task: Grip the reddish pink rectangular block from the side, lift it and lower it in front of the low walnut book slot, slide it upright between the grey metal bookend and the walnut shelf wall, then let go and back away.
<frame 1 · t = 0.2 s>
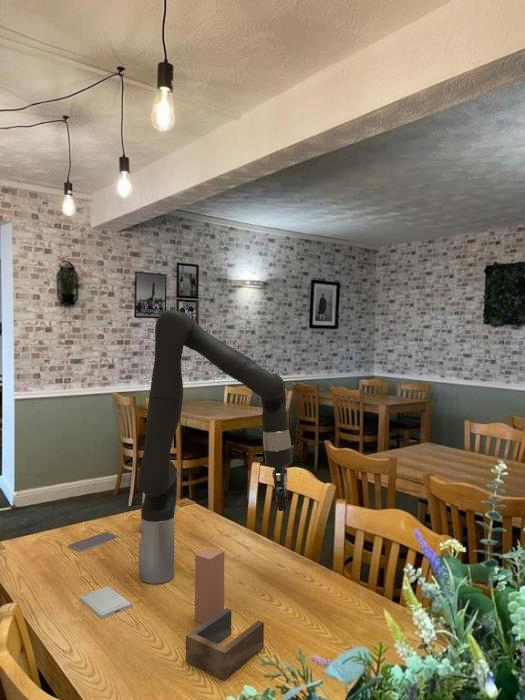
hand: (283, 505, 142), 22 cm above the table, tool pointing down, fingers open, 8 cm apart
hard drive: (105, 606, 132), on the table
smartphone: (93, 544, 171), on the table
skincare box: (160, 524, 188), on the table
book slot: (227, 652, 112), on the table
reddish pink rectangular block: (209, 618, 125), on the table
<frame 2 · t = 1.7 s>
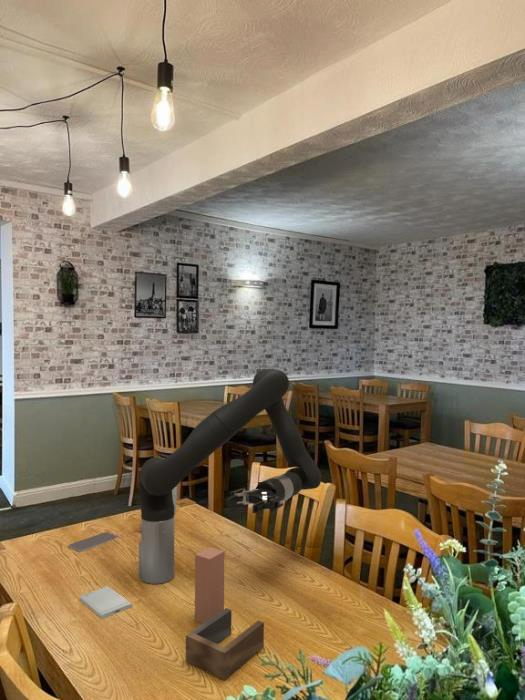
hand: (240, 506, 134), 24 cm above the table, tool horizontal, fingers open, 8 cm apart
nothing on the table moved.
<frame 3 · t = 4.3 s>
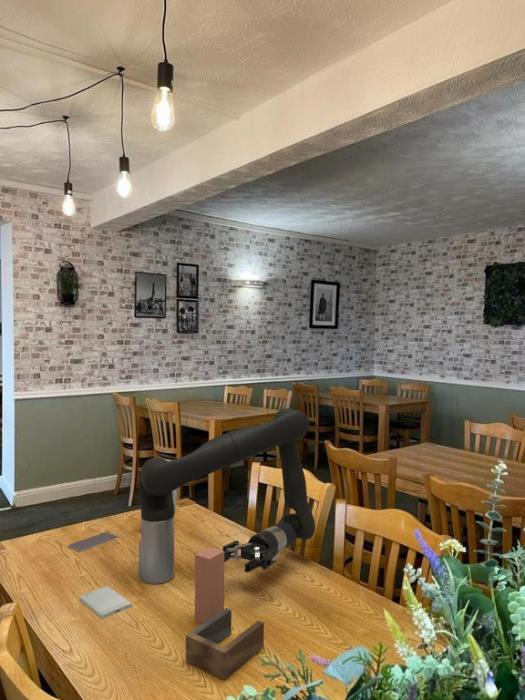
hand: (232, 564, 132), 10 cm above the table, tool horizontal, fingers open, 8 cm apart
nothing on the table moved.
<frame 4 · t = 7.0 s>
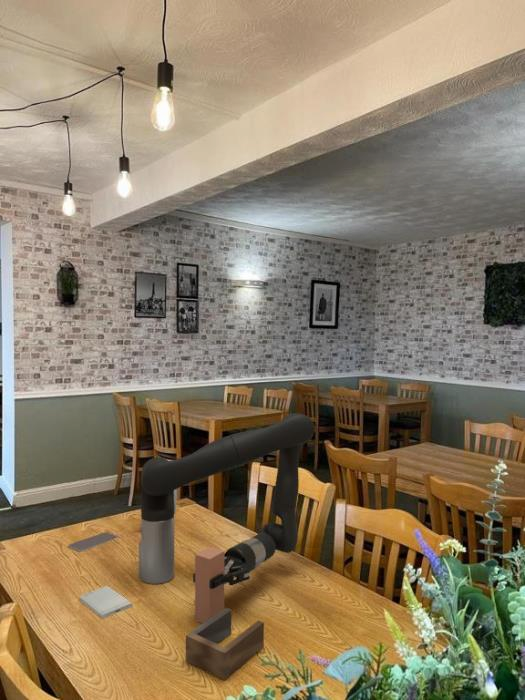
hand: (202, 581, 123), 10 cm above the table, tool horizontal, fingers closed on reddish pink rectangular block, 4 cm apart
reddish pink rectangular block: (209, 618, 125), on the table, touching gripper
everything else where it was.
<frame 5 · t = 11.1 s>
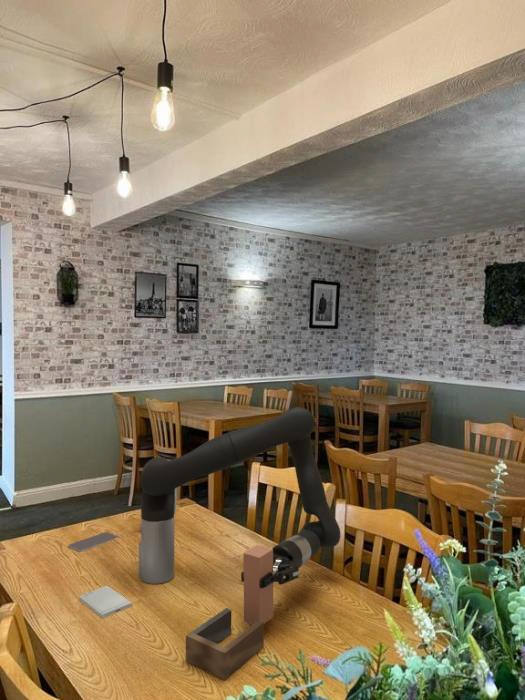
hand: (251, 581, 118), 12 cm above the table, tool horizontal, fingers closed on reddish pink rectangular block, 4 cm apart
reddish pink rectangular block: (258, 618, 121), point 2 cm above the table, touching gripper
everything else where it was.
when the fingers open (11 cm above the table, at t = 15.4 s): reddish pink rectangular block stays where it is, resting in book slot.
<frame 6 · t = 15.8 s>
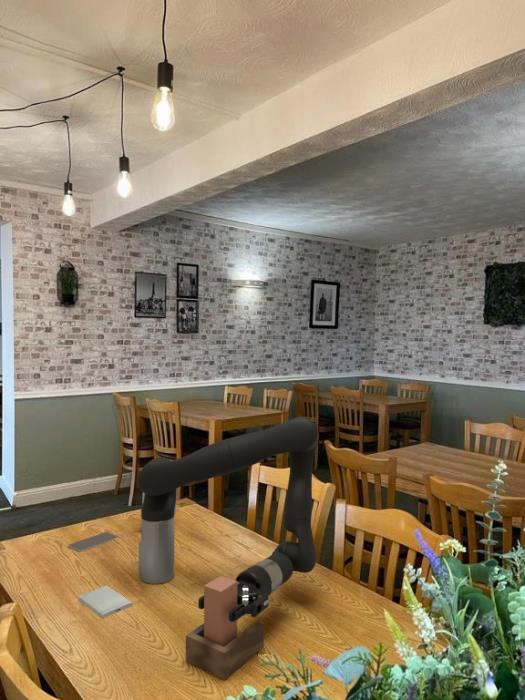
hand: (214, 610, 108), 11 cm above the table, tool horizontal, fingers open, 8 cm apart
reddish pink rectangular block: (220, 658, 110), resting in book slot
everything else where it was.
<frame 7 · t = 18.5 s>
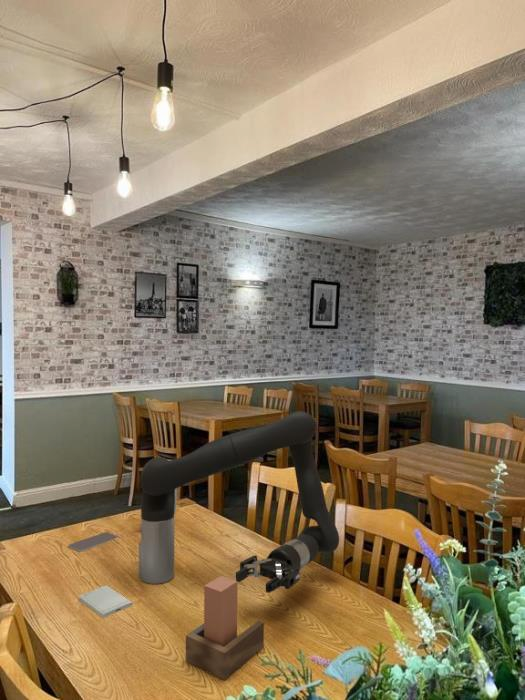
hand: (251, 583, 119), 12 cm above the table, tool horizontal, fingers open, 8 cm apart
nothing on the table moved.
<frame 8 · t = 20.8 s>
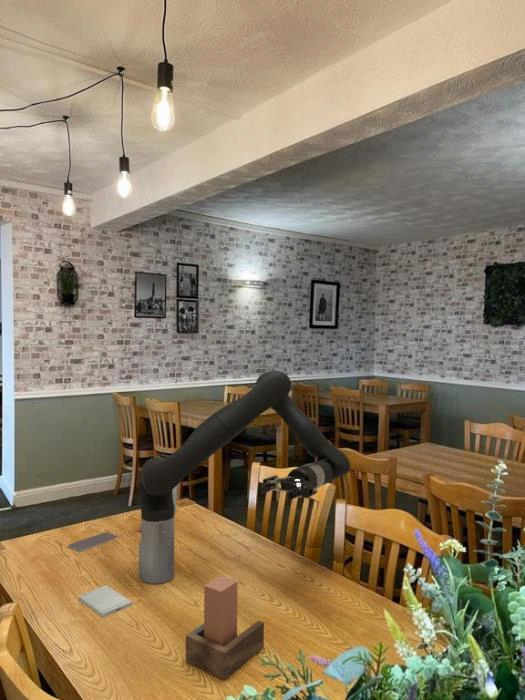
hand: (274, 492, 133), 28 cm above the table, tool horizontal, fingers open, 8 cm apart
nothing on the table moved.
at the end: reddish pink rectangular block 0.1 cm from the target spot on the book slot, point 0.0 cm above the book slot's base; reddish pink rectangular block tilted 0°; the gripper is holding nothing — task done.
